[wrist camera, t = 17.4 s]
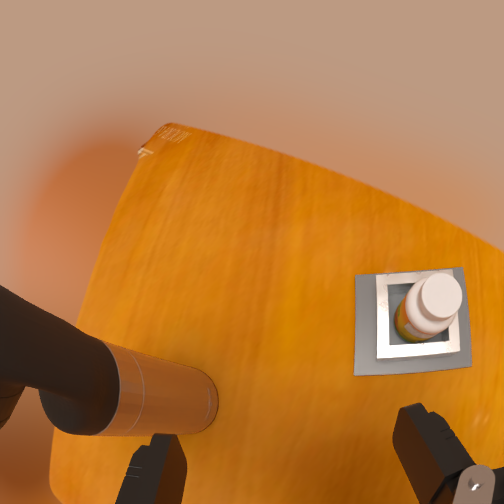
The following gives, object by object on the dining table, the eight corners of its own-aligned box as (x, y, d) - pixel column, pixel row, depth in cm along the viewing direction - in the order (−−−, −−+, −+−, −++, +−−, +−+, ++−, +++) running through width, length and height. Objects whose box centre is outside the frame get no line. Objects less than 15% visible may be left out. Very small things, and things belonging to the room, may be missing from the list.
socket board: (354, 376, 31) (352, 373, 28) (355, 278, 36) (353, 263, 33) (468, 367, 26) (481, 362, 22) (460, 271, 31) (469, 255, 28)
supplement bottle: (406, 289, 32) (429, 253, 23) (443, 312, 29) (477, 283, 21) (383, 329, 31) (402, 305, 22) (422, 353, 28) (454, 337, 20)
